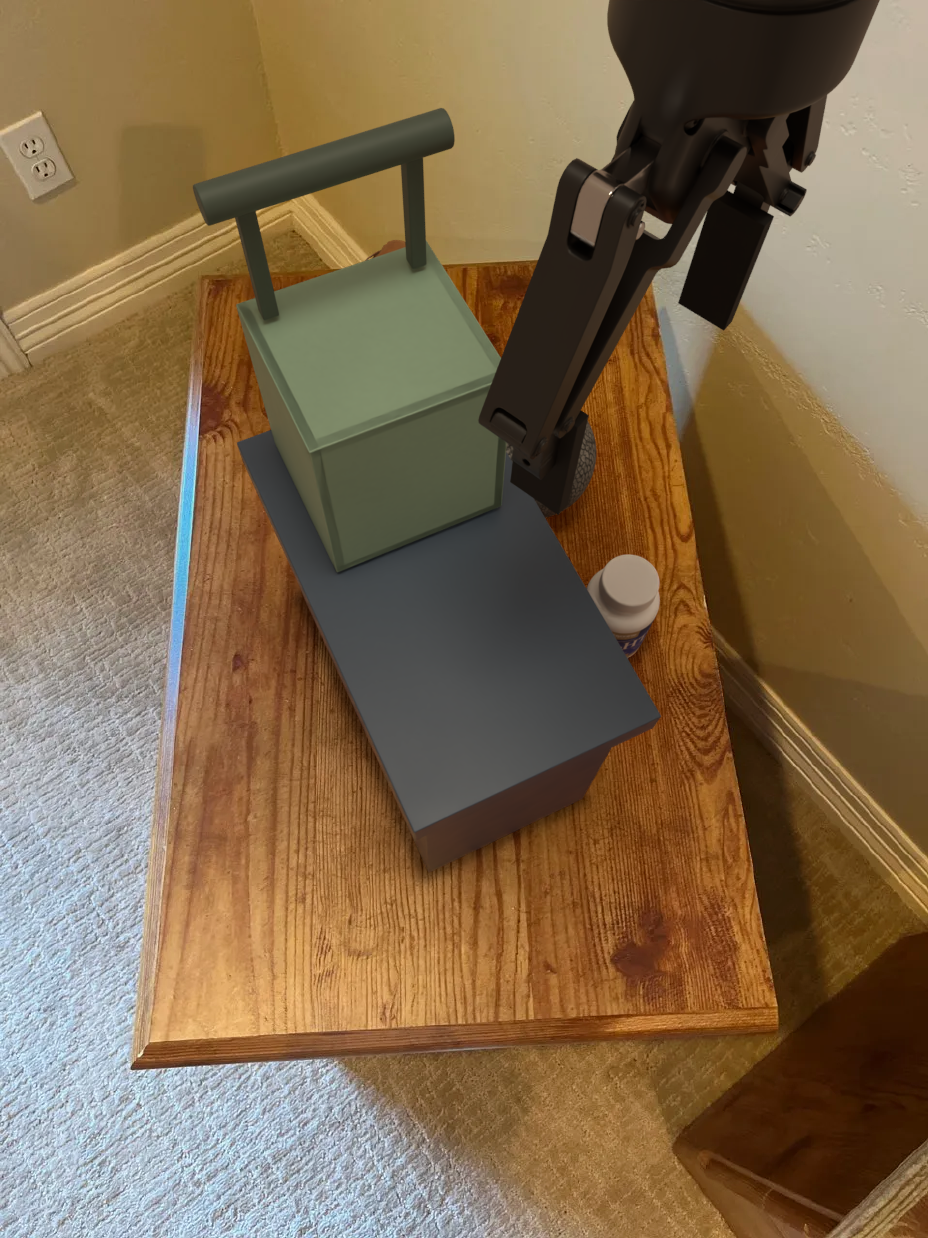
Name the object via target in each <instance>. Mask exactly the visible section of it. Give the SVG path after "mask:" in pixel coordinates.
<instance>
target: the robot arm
mask: <svg viewBox="0 0 928 1238" xmlns="http://www.w3.org/2000/svg"><path fill="white" fill-rule="evenodd" d="M880 1H881V0H608V6H607V11H606V12H607V13H606V17H607V18H606V20H607V22H606V25H607V32H608V36H609V37H608V38H609V40H610V41H609V42H610V44H611V47H612V49H613V51H614V53H615V55H616V57H617V59H618V60H619V62H620V65H621V66H622V69H623V71H624V73H625V75H626V77H627V79H628V82H629V85H630V87H631V90H632V93H633V100H632V103H631V104H630V106H629V108H628V110H627V112H626V114H625V116H624V118H623V120H622V122H621V124H620V126H619V128H618V131H617V134H616V146H615V149H614V154H613V156H612V158H611V160H610V162H608V163H607V164H606V165H605V166H603V168H601V169H598V168H596V167H594V166H593V165H591V164H589V163H587V162H585V161H584V160H582V159H580V158H578V157H576V158H574V159H572V160H571V161H570V162H569V163H568V164H567V166H566V167H565V169H564V170H563V172H562V174H561V176H560V177H559V180H558V184H557V187H556V193H555V197H554V201H553V207H552V212H551V215H550V222H549V227H548V232H547V235H546V238H545V241H544V244H543V246H542V248H541V251H540V254H539V258H538V259H537V262H536V264H535V267H534V270H533V273H532V275H531V278H530V280H529V283H528V286H527V288H526V290H525V293H524V296H523V299H522V302H521V304H520V306H519V310H518V312H517V315H516V318H515V320H514V322H513V326H512V328H511V330H510V333H509V336H508V339H507V342H506V344H505V347H504V349H503V352H502V355H501V356H500V357H501V360H500V362H499V365H498V368H497V370H496V373H495V376H494V378H493V381H492V384H491V386H490V389H489V392H488V394H487V397H486V399H485V402H484V405H483V407H482V410H481V413H480V416H479V419H478V422H479V424H480V425H482V426H483V427H485V428H486V429H488V430H489V431H490V432H492V433H493V434H495V435H496V436H498V437H499V438H501V439H502V440H504V441H505V442H507V443H508V444H510V445H511V446H513V449H514V450H513V453H512V459H513V463H512V471H511V479H510V482H511V483H512V484H514V485H515V486H517V487H518V488H520V489H521V490H522V491H524V492H525V493H527V494H528V495H530V496H531V497H533V498H534V499H535V500H537V501H538V502H540V503H541V504H543V505H544V506H546V507H547V508H548V509H550V510H551V511H553V512H554V513H556V515H557V516H559V515H560V514H561V513H562V512H564V511H563V509H564V508H565V507H566V506H567V505H568V503H569V499H570V495H571V490H572V486H573V482H574V477H575V473H576V469H577V464H578V460H579V456H580V452H581V447H582V443H583V439H584V434H585V430H586V426H587V422H589V417H590V416H589V414H588V413H586V412H585V411H583V410H582V409H583V407H584V405H585V403H586V402H587V400H588V398H589V397H590V394H591V393H592V390H593V389H594V387H595V385H596V384H597V382H598V380H599V378H600V376H601V374H602V372H603V371H604V369H605V368H606V366H607V363H608V362H609V360H610V358H611V357H612V354H613V353H614V351H615V349H616V348H617V345H618V344H619V342H620V340H621V338H622V337H623V334H624V333H625V331H626V329H627V328H628V326H629V324H630V322H631V320H632V318H633V316H635V315H634V314H635V313H636V311H637V309H638V307H639V306H640V304H641V302H642V301H643V298H644V297H645V295H646V293H647V291H648V289H649V287H650V286H651V284H652V282H653V280H654V278H655V276H656V275H657V273H658V272H659V271H661V270H664V269H672V268H673V267H674V266H677V264H678V263H679V262H680V260H681V258H682V257H683V256H684V253H685V252H686V250H687V248H688V246H689V244H690V243H691V241H692V239H693V237H694V236H695V234H696V233H697V230H698V229H699V227H700V225H701V223H702V221H703V224H702V227H701V229H700V232H699V236H698V239H697V242H696V246H695V248H694V251H693V252H694V253H693V254H692V259H691V261H690V263H689V267H688V271H687V273H686V277H685V280H684V283H683V286H682V289H681V293H680V296H679V299H678V302H677V303H678V305H681V306H682V307H683V308H685V309H687V310H689V311H690V312H691V313H693V314H695V315H696V316H699V317H700V318H702V319H703V320H705V321H706V322H708V323H710V324H712V325H713V326H715V327H717V328H719V329H720V330H721V331H725V330H726V329H727V328H728V327H729V326H730V324H732V322H733V319H734V318H735V315H736V313H737V311H738V308H739V305H740V303H741V300H742V298H743V295H744V293H745V290H746V287H747V285H748V283H749V281H750V277H751V275H752V273H753V270H754V268H755V265H756V263H757V260H758V258H759V256H760V253H761V250H762V248H763V245H764V242H765V241H766V238H767V235H768V233H769V230H770V228H771V226H772V223H773V220H774V218H775V216H774V215H773V214H771V213H769V210H770V208H774V209H776V210H778V211H779V212H780V213H783V214H785V215H787V216H788V217H793V215H795V213H796V212H797V210H798V209H799V207H800V206H801V204H802V203H803V201H804V199H805V196H806V194H807V188H805V187H803V186H801V185H799V184H798V183H796V182H795V181H792V178H791V173H790V172H791V171H792V170H795V171H797V172H798V173H802V174H803V172H805V171H806V169H808V167H810V166H812V164H813V162H814V161H815V159H816V156H817V154H816V153H817V152H818V148H819V143H820V138H821V131H822V128H823V127H822V126H823V122H824V116H825V110H826V104H827V99H828V95H829V94H830V93H832V91H834V90H835V89H836V88H837V87H838V86H839V85H840V84H841V82H843V80H844V79H845V78H846V76H847V75H848V73H849V72H850V70H851V69H852V66H853V65H854V63H855V61H856V58H857V56H858V54H859V51H860V48H861V46H862V44H863V41H864V39H865V36H866V35H867V32H868V30H869V27H870V26H871V23H872V20H873V17H874V15H875V13H876V10H877V9H878V6H879V4H880ZM731 185H732V186H734V190H733V192H732V191H730V190H729V188H730V187H731ZM645 212H646V213H647V214H649V215H650V216H652V217H654V218H656V219H657V220H659V221H661V222H663V223H665V224H668V225H670V227H669V229H668V231H667V233H666V234H665V235H664V236H663V237H662V238H660V237H659V236H656V235H655V234H653V233H652V232H649V231H648V230H646V222H645V221H643V220H642V219H643V216H644V213H645ZM703 219H704V220H703Z"/></svg>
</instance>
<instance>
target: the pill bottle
mask: <svg viewBox="0 0 928 1238" xmlns="http://www.w3.org/2000/svg"><path fill="white" fill-rule="evenodd" d="M586 588H587V590H588V592H589V594H590V595H591V597H592V599H593V600H594V602H595V604H596V606H597V607H598V609H599V611H600V612H601V614H602V616H603V617H604V619H605V621H606V623H607V624H608V626H609V628H610V629H611V631H612V633H613V634H614V636H615V638H616V640H617V641H618V643H619V645H620V646H621V648H622V650H623V652H624V653H625V655H626V657H627V658H628V659H629V658H631V657H632V656H633V655H635V653H637V652H638V650H639V648H640V647H641V646H642V643H644V640H645V638H646V636H647V634H648V632H649V630H650V629H651V627H652V625H653V623H654V621H655V619H656V617H657V615H658V613H659V609H660V603H661V598H660V590H659V589H660V577H659V573H658V571H657V569H656V568H655V566H654V565H653V564H652V563H651V562H650V561H649V560H648V559H646V558H644V557H642V556H640V555H636V554H628V553H627V554H620V555H618V556H615V557H613V558H612V559H610V560H609V561H608V562H607V563H606V565H604V567H603V568H602V569H600V570H598V571H597V572H596V573H595V574H594V575H593V576H592V577H591V579H590V580H589V582H588V584H587V586H586Z"/></svg>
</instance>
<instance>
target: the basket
mask: <svg viewBox="0 0 928 1238" xmlns="http://www.w3.org/2000/svg"><path fill="white" fill-rule="evenodd" d="M455 141H456V139H455V130H454V125H453V122H452V119H451V116H450V115H449V112H448V111H447V110H446V109H445V108H443V107H439V108H436V109H432V110H430V111H426V112H422V113H420V114H416V115H414V116H413V115H412V116H410V117H407V118H404V119H400V120H397V121H394V122H391V123H388V124H384V125H381V126H377V127H374V128H371V129H368V130H364V131H362V132H358V133H355V134H352V135H349V136H346V137H342V138H339V139H336V140H332V141H329V142H326V143H323V144H320V145H316V146H313V147H310V148H307V149H303V150H299V151H297V152H293V153H290V154H287V155H284V156H280V157H277V158H274V159H271V160H267V161H264V162H261V163H257V164H254V165H251V166H249V167H245V168H242V169H239V170H235V171H232V172H229V173H225V174H222V175H220V176H216V177H213V178H209V179H206V180H203V181H199V182H196V183H194V184H192V191H193V194H194V198H195V201H196V204H197V206H198V209H199V211H200V214H201V216H202V219H203V220H204V223H205V224H206V226H208V227H210V226H215V225H217V224H220V223H223V222H226V221H230V220H232V219H234V220H235V224H236V228H237V233H238V236H239V240H240V243H241V247H242V252H243V255H244V260H245V264H246V268H247V272H248V274H249V279H250V282H251V286H252V287H251V288H252V290H253V295H254V297H253V298H251V299H248V300H245V301H241V302H239V303H236V304H235V308H236V310H237V314H238V317H239V320H240V325H241V328H242V332H243V336H244V339H245V342H246V346H247V349H248V353H249V356H250V360H251V364H252V367H253V370H254V374H255V378H256V381H257V385H258V388H259V392H260V396H261V399H262V402H263V406H264V410H265V413H266V418H267V419H268V424H269V427H270V430H271V431H272V435H273V438H274V442H275V444H276V447H277V449H278V451H279V453H280V455H281V457H282V459H283V461H284V463H285V465H286V467H287V469H288V472H289V474H290V476H291V478H292V480H293V482H294V484H295V486H296V488H297V490H298V492H299V495H300V497H301V499H302V501H303V503H304V505H305V507H306V509H307V511H308V513H309V515H310V518H311V520H312V522H313V524H314V526H315V528H316V530H317V532H318V534H319V536H320V538H321V541H322V543H323V545H324V547H325V549H326V551H327V553H328V555H329V557H330V559H331V561H332V564H333V566H334V568H335V570H336V572H339V571H342V570H344V569H347V568H349V567H352V566H354V565H357V564H359V563H362V562H364V561H367V560H369V559H371V558H374V557H376V556H379V555H381V554H384V553H386V552H389V551H391V550H394V549H396V548H399V547H401V546H404V545H406V544H408V543H411V542H413V541H416V540H418V539H421V538H423V537H426V536H428V535H431V534H433V533H436V532H438V531H441V530H443V529H446V528H448V527H450V526H453V525H455V524H458V523H460V522H463V521H465V520H468V519H470V518H473V517H475V516H478V515H480V514H483V513H485V512H487V511H490V510H492V509H495V508H498V507H500V506H502V494H503V482H504V470H505V458H506V446H507V442H505V441H504V440H502V439H501V438H499V437H498V436H496V435H495V434H493V433H492V432H490V431H489V430H488V429H486V428H485V427H483V426H482V425H480V424H479V422H478V419H479V416H480V413H481V410H482V407H483V405H484V402H485V399H486V397H487V394H488V392H489V389H490V386H491V384H492V381H493V378H494V376H495V373H496V370H497V368H498V365H499V362H500V360H501V357H502V356H500V354H499V352H498V351H497V350H496V348H495V346H494V345H493V343H492V342H491V340H490V338H489V337H488V335H487V334H486V332H485V330H484V329H483V327H482V326H481V324H480V323H479V321H478V320H477V317H476V316H475V315H474V313H473V311H472V310H471V308H470V307H469V306H468V304H467V302H466V300H465V299H464V297H463V295H462V294H461V292H460V291H459V289H458V288H457V286H456V284H455V283H454V282H453V280H452V278H451V277H450V275H449V273H448V272H447V271H446V269H445V267H444V266H443V264H442V263H441V261H440V260H439V258H438V257H437V255H436V254H435V252H434V250H433V248H432V246H431V245H430V244H429V242H428V241H427V234H426V231H427V230H426V229H427V228H426V204H425V203H426V201H425V173H424V158H426V157H430V156H433V155H436V154H440V153H443V152H445V151H448V150H452V149H453V148H454V146H455ZM398 166H400V174H401V175H400V176H401V191H402V193H401V194H402V207H403V208H402V210H403V224H404V225H403V227H404V241H405V245H406V247H404V248H401V249H398V250H395V251H392V252H390V253H387V254H384V255H381V256H378V257H375V258H373V257H371V258H369V259H368V260H366V259H365V260H366V261H365V260H363V261H360V262H357V263H355V264H351V265H347V266H346V267H342V268H339V269H337V270H334V271H330V272H328V273H324V274H321V275H318V276H316V277H313V278H310V279H307V280H304V281H301V282H298V283H296V284H293V285H289V286H285V287H283V288H281V289H277V290H275V289H274V284H273V280H272V276H271V272H270V267H269V263H268V258H267V254H266V249H265V246H264V241H263V238H262V236H263V235H262V233H261V228H260V223H259V220H258V215H257V211H261V210H263V209H266V208H267V209H268V208H270V207H273V206H276V205H280V204H282V203H286V202H289V201H291V200H295V199H298V198H302V197H304V196H307V195H311V194H313V193H317V192H319V191H323V190H326V189H329V188H333V187H336V186H338V185H342V184H345V183H348V182H351V181H355V180H358V179H361V178H364V177H367V176H370V175H373V174H376V173H379V172H382V171H386V170H389V169H392V168H395V167H398Z"/></svg>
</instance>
